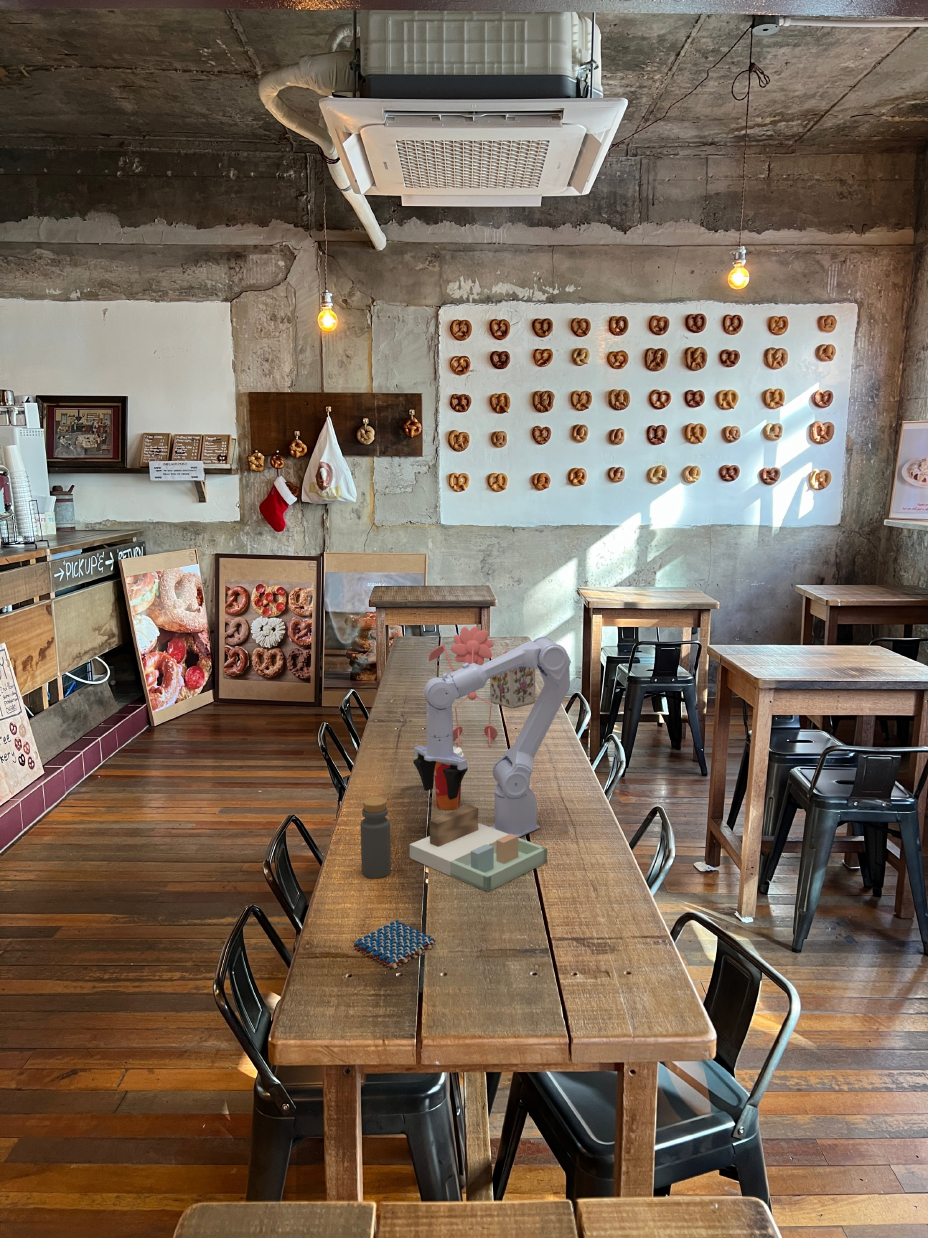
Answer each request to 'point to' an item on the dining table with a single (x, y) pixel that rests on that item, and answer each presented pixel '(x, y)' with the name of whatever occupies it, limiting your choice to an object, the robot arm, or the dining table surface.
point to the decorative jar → (513, 687)
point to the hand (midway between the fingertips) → (440, 794)
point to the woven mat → (394, 944)
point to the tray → (501, 867)
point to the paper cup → (445, 786)
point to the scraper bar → (453, 825)
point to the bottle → (375, 838)
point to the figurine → (469, 650)
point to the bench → (454, 848)
